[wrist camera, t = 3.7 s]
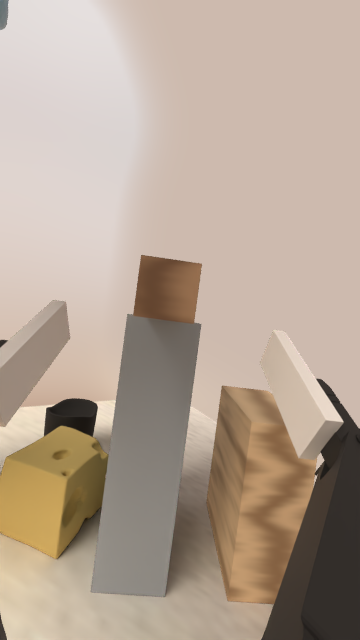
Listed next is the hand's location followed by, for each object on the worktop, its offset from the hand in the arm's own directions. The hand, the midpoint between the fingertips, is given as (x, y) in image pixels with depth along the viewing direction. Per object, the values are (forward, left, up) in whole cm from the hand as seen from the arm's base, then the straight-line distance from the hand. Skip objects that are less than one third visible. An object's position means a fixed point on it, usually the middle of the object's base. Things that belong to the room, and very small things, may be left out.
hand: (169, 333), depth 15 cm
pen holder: (-17, +33, -29) cm, 47 cm away
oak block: (+14, +17, -29) cm, 37 cm away
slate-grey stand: (-1, +17, -29) cm, 34 cm away
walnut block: (-1, +13, +1) cm, 13 cm away
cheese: (-13, +19, -29) cm, 37 cm away
